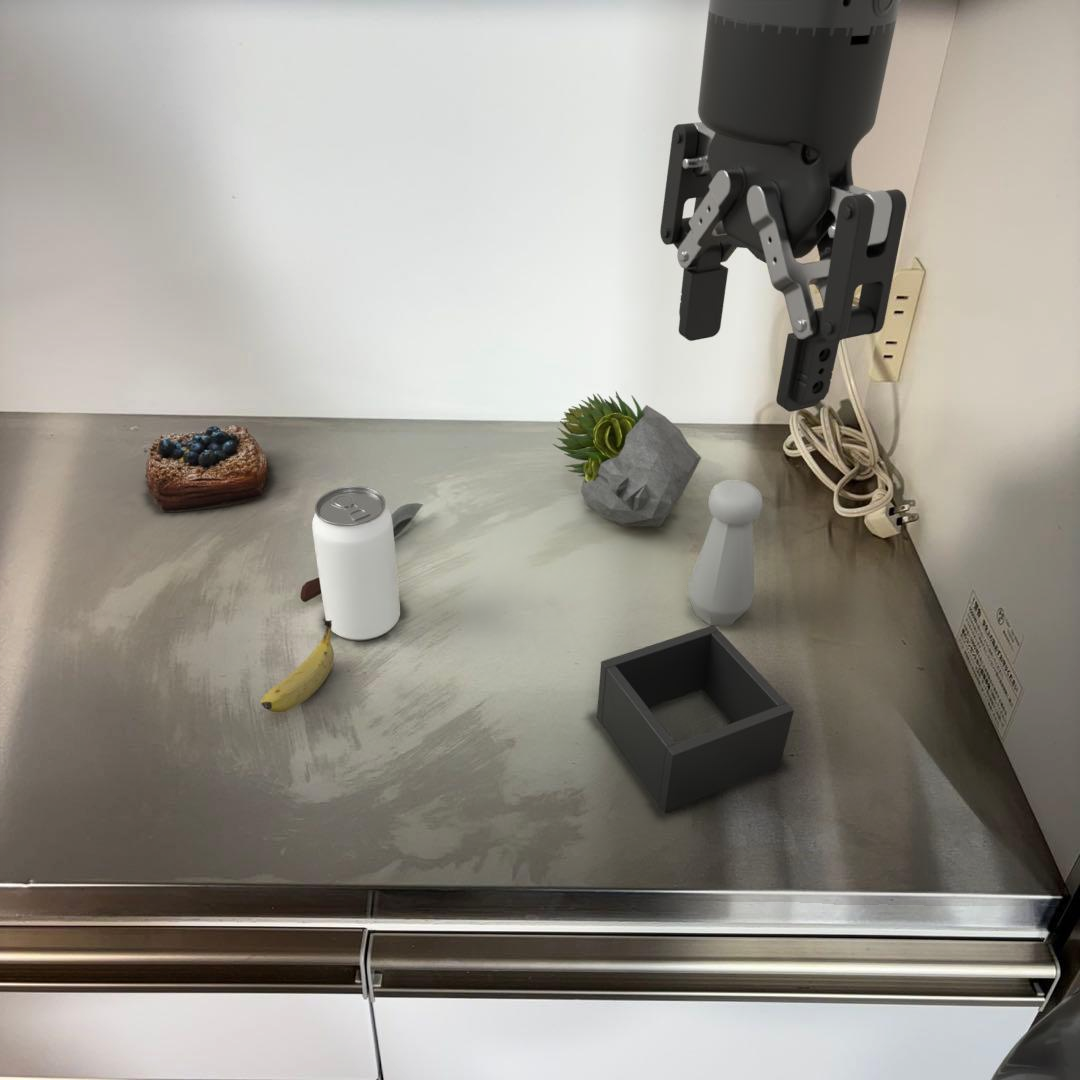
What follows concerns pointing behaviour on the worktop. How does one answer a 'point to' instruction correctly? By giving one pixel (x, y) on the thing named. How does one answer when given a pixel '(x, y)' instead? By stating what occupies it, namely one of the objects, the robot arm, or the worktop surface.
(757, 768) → the holder
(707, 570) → the salt shaker
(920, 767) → the worktop surface
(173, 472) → the pastry
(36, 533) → the worktop surface
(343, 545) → the can
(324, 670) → the banana
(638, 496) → the potted plant
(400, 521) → the knife
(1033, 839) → the worktop surface
